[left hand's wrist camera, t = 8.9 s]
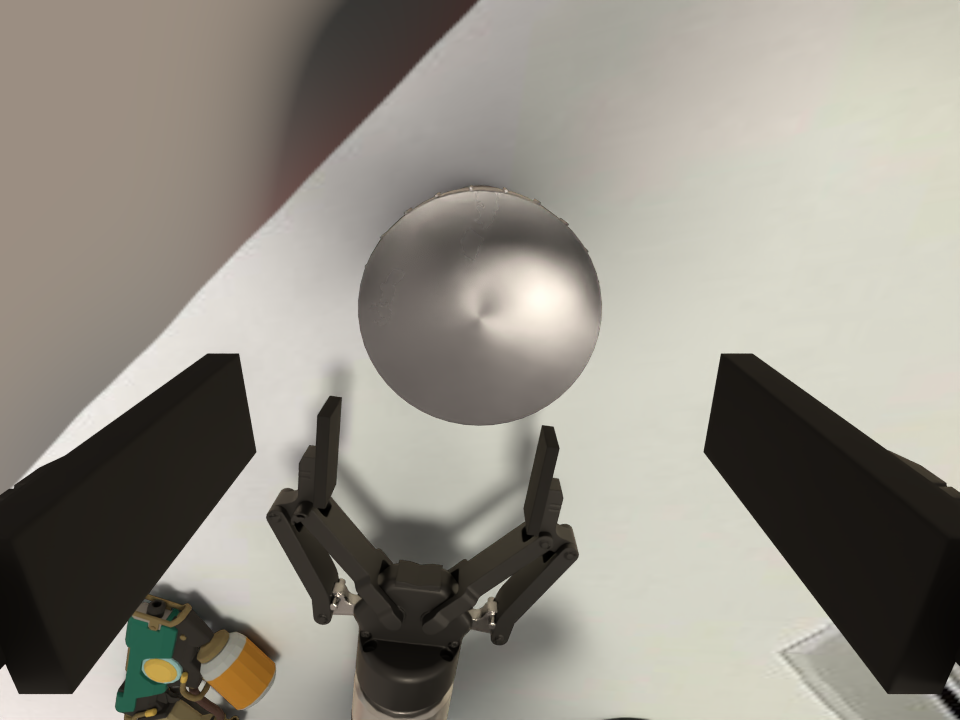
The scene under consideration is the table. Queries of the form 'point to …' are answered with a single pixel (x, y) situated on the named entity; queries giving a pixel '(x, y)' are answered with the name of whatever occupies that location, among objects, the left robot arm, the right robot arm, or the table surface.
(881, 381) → the table surface
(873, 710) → the table surface
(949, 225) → the table surface
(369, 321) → the lid
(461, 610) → the right robot arm
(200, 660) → the spray gun
